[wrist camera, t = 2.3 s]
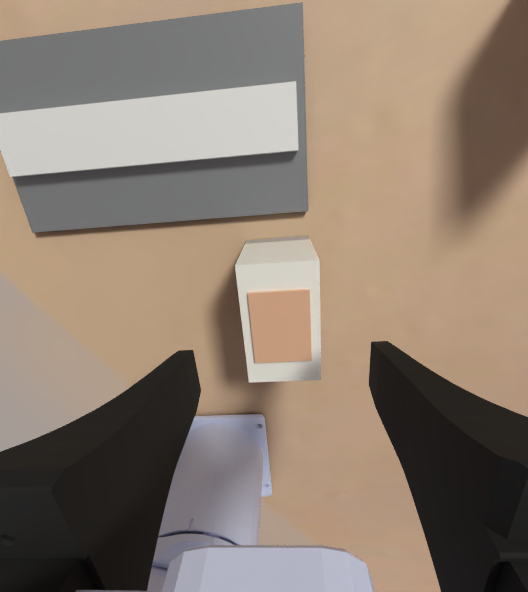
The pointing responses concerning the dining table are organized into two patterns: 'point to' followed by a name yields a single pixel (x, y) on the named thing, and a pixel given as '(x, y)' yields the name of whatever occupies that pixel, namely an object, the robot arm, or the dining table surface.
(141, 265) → the dining table surface
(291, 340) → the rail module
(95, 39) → the din rail
